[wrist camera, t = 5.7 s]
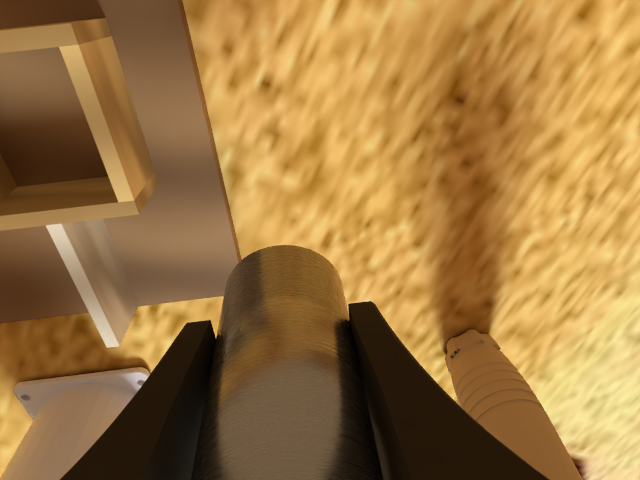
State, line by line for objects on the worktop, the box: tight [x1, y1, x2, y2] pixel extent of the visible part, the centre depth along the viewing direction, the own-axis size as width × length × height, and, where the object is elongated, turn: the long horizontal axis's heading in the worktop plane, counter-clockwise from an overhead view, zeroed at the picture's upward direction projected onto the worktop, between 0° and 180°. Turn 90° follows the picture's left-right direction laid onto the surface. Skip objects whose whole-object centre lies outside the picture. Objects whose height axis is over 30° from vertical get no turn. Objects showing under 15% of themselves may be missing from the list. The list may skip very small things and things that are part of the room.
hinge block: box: [0, 0, 241, 348], centre depth 17 cm, size 16×16×4 cm
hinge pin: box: [191, 245, 384, 480], centre depth 10 cm, size 4×4×7 cm
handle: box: [445, 329, 583, 480], centre depth 20 cm, size 5×6×15 cm
